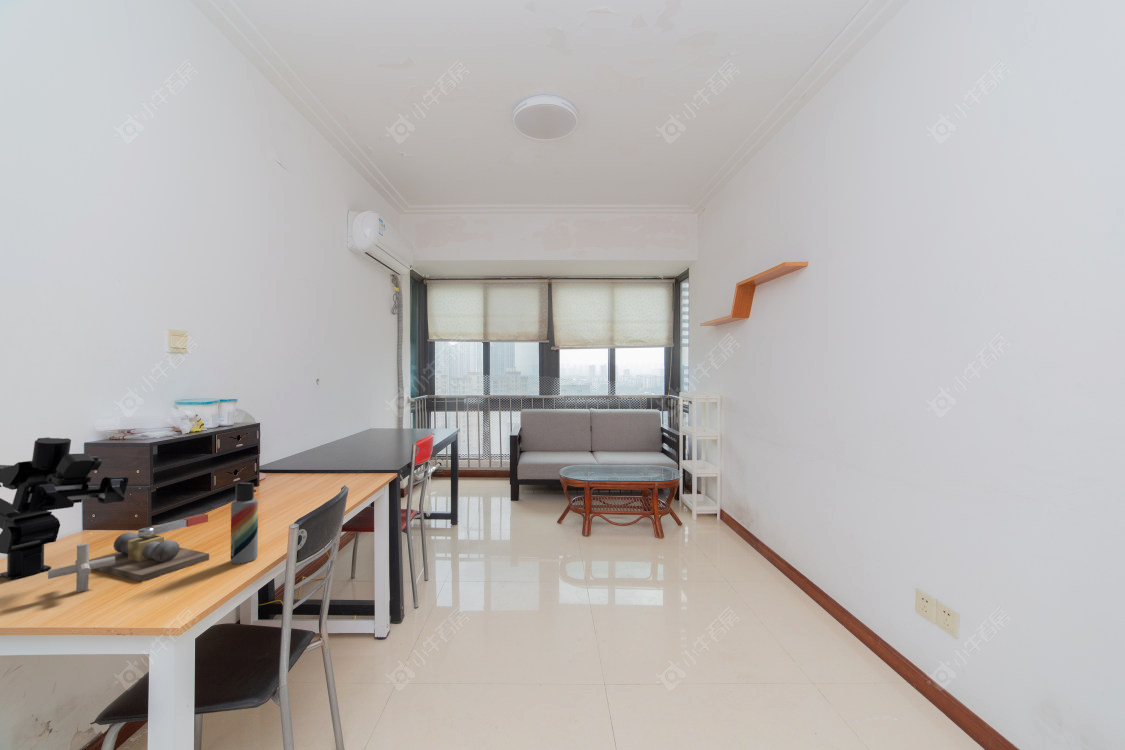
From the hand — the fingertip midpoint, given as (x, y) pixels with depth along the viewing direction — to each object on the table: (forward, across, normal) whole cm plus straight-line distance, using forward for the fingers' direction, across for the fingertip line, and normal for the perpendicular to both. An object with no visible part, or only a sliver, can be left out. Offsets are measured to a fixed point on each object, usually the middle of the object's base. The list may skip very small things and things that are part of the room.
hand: (99, 501), depth 101 cm
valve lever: (-1, +19, +10) cm, 22 cm away
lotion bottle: (+22, +21, +13) cm, 33 cm away
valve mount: (-1, +14, +18) cm, 23 cm away
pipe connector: (+3, 0, +19) cm, 19 cm away
